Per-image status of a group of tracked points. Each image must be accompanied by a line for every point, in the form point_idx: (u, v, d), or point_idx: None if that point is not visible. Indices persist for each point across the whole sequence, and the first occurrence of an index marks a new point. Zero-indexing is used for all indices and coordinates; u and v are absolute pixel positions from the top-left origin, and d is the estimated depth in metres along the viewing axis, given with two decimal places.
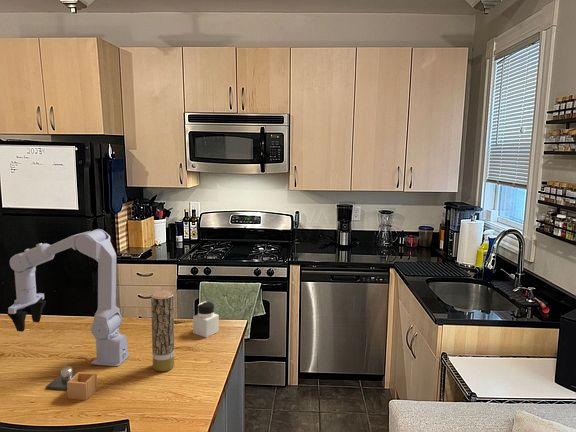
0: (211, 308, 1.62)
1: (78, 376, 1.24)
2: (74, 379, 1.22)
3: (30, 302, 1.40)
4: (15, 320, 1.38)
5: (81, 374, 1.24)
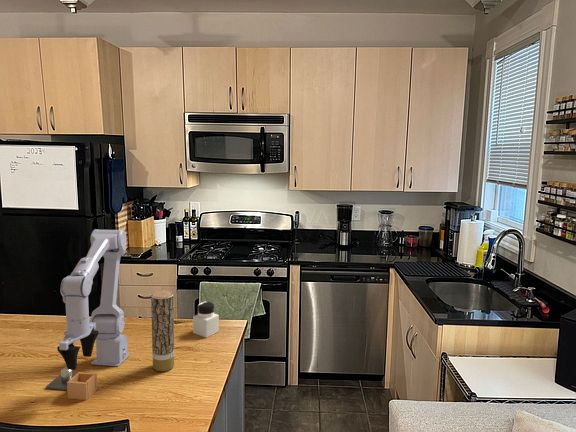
0: (211, 308, 1.62)
1: (78, 376, 1.24)
2: (74, 379, 1.22)
3: (83, 335, 1.18)
4: (66, 356, 1.16)
5: (81, 374, 1.24)
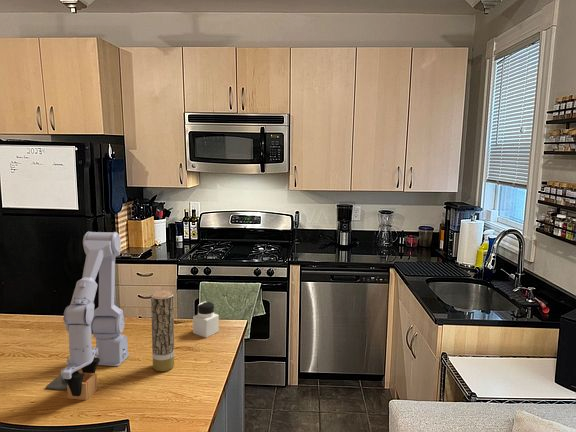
0: (211, 308, 1.62)
1: None
2: None
3: (86, 363, 1.19)
4: (70, 383, 1.18)
5: None
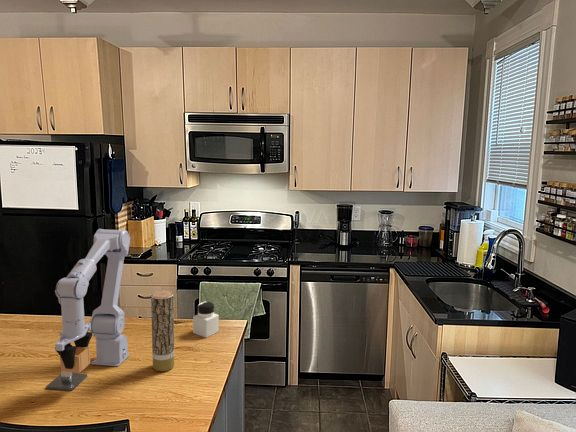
0: (211, 308, 1.62)
1: None
2: None
3: (79, 336, 1.20)
4: (63, 356, 1.19)
5: None
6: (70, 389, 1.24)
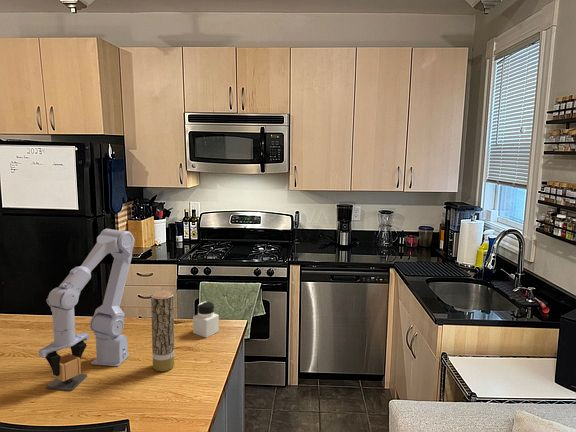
0: (211, 308, 1.62)
1: (67, 357, 1.29)
2: (60, 359, 1.28)
3: (64, 345, 1.23)
4: (51, 362, 1.24)
5: (69, 356, 1.30)
6: (70, 389, 1.24)
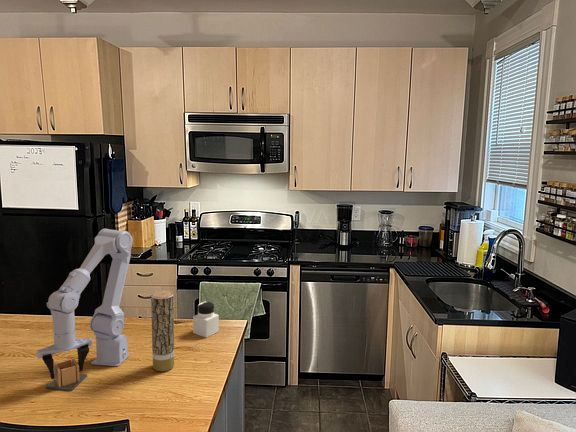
0: (211, 308, 1.62)
1: (70, 362, 1.30)
2: (63, 363, 1.29)
3: (60, 349, 1.23)
4: None
5: (72, 361, 1.30)
6: (70, 389, 1.24)
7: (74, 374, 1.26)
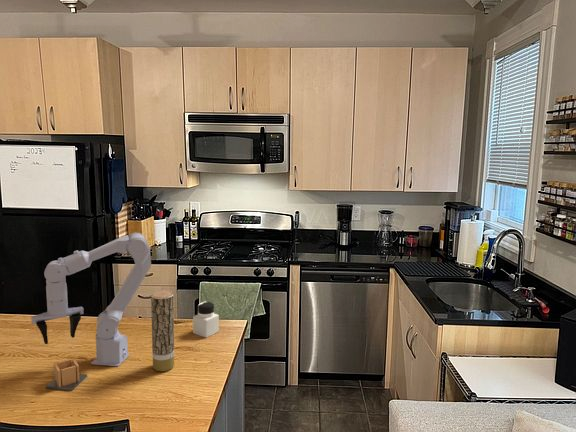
0: (211, 308, 1.62)
1: (70, 362, 1.30)
2: (63, 363, 1.29)
3: (54, 315, 1.31)
4: None
5: (72, 361, 1.30)
6: (70, 389, 1.24)
7: (74, 374, 1.26)
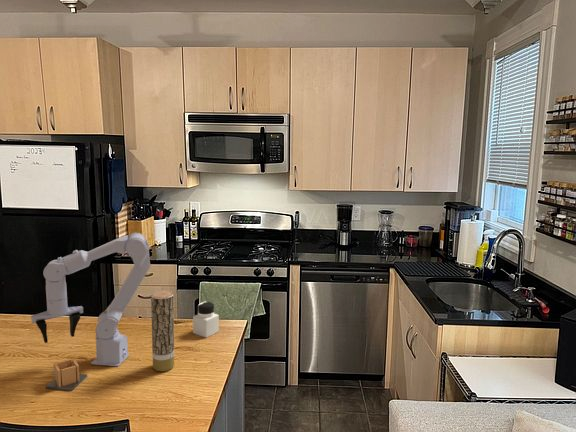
0: (211, 308, 1.62)
1: (70, 362, 1.30)
2: (63, 363, 1.29)
3: (53, 314, 1.32)
4: None
5: (72, 361, 1.30)
6: (70, 389, 1.24)
7: (74, 374, 1.26)
